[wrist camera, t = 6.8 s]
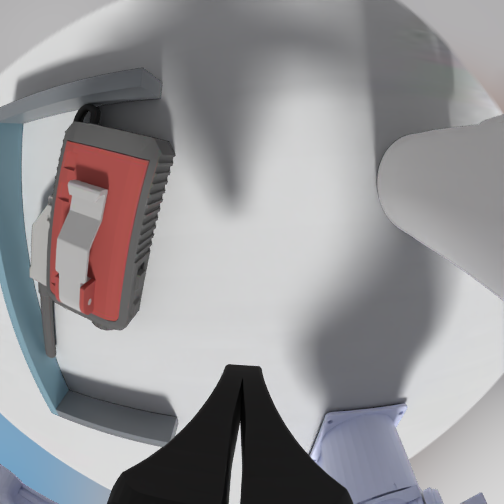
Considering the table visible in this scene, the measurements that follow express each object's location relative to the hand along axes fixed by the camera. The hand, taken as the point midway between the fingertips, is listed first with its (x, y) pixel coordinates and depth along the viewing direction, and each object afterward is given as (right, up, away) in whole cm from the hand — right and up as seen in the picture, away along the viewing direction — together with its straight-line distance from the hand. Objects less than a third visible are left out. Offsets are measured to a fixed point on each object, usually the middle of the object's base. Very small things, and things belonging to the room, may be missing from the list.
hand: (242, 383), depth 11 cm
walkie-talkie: (-10, +5, +7) cm, 13 cm away
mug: (+12, +11, +4) cm, 16 cm away
